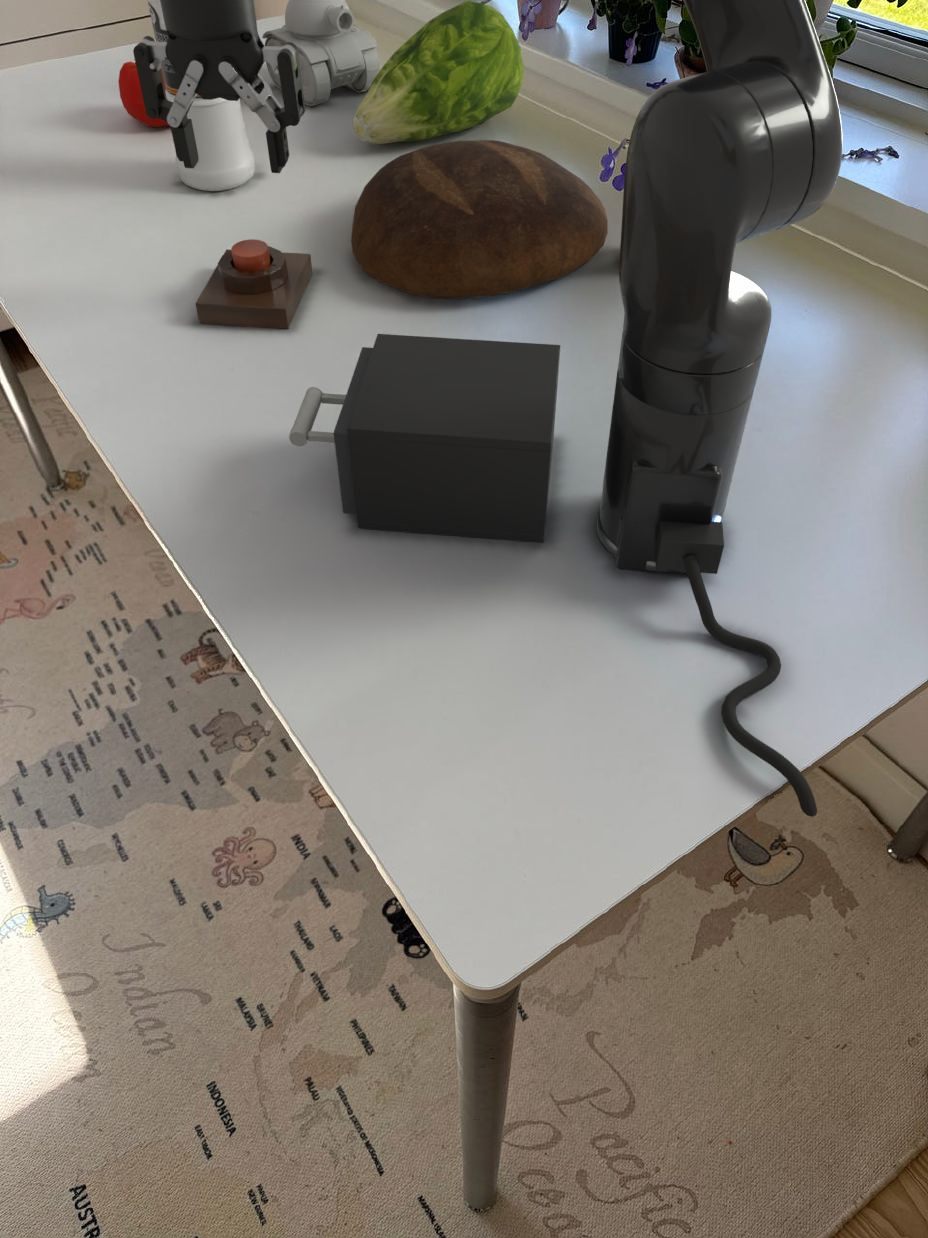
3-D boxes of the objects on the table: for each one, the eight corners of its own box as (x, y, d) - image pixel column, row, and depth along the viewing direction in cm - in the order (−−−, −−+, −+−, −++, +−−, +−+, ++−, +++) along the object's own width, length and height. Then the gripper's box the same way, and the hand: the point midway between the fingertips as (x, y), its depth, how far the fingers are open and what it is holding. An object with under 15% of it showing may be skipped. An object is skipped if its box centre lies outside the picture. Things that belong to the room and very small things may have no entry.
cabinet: (357, 528, 79) (346, 428, 72) (384, 431, 87) (377, 333, 80) (543, 543, 78) (551, 442, 70) (553, 443, 86) (560, 344, 79)
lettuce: (345, 170, 133) (308, 66, 123) (481, 90, 139) (456, -15, 129) (403, 194, 124) (369, 83, 114) (546, 107, 129) (525, -5, 120)
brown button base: (288, 329, 98) (282, 291, 95) (199, 323, 99) (191, 286, 96) (313, 273, 106) (308, 236, 103) (229, 268, 107) (223, 232, 104)
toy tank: (386, 96, 139) (380, -11, 129) (321, 115, 134) (310, 6, 125) (328, 65, 147) (318, -37, 137) (265, 82, 142) (250, -23, 133)
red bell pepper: (147, 140, 129) (133, 77, 124) (116, 119, 134) (101, 57, 128) (212, 121, 133) (201, 60, 128) (179, 101, 138) (167, 41, 132)
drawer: (289, 509, 79) (275, 428, 73) (320, 422, 87) (309, 343, 81) (514, 527, 77) (518, 445, 72) (526, 437, 85) (530, 356, 79)
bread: (533, 169, 123) (537, 93, 116) (655, 270, 106) (667, 188, 99) (312, 216, 114) (303, 137, 108) (406, 334, 98) (402, 248, 91)
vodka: (264, 186, 120) (218, -120, 98) (186, 199, 118) (121, -112, 96) (248, 156, 126) (201, -140, 104) (173, 167, 124) (109, -133, 101)
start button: (265, 274, 98) (262, 257, 97) (229, 272, 99) (226, 255, 97) (274, 256, 101) (272, 239, 100) (239, 254, 101) (236, 237, 100)
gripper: (98, -27, 79) (147, 181, 91) (276, -21, 78) (302, 189, 90) (130, -54, 84) (172, 146, 96) (298, -49, 83) (319, 153, 95)
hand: (235, 166), depth 93 cm, fingers open, 7 cm apart
